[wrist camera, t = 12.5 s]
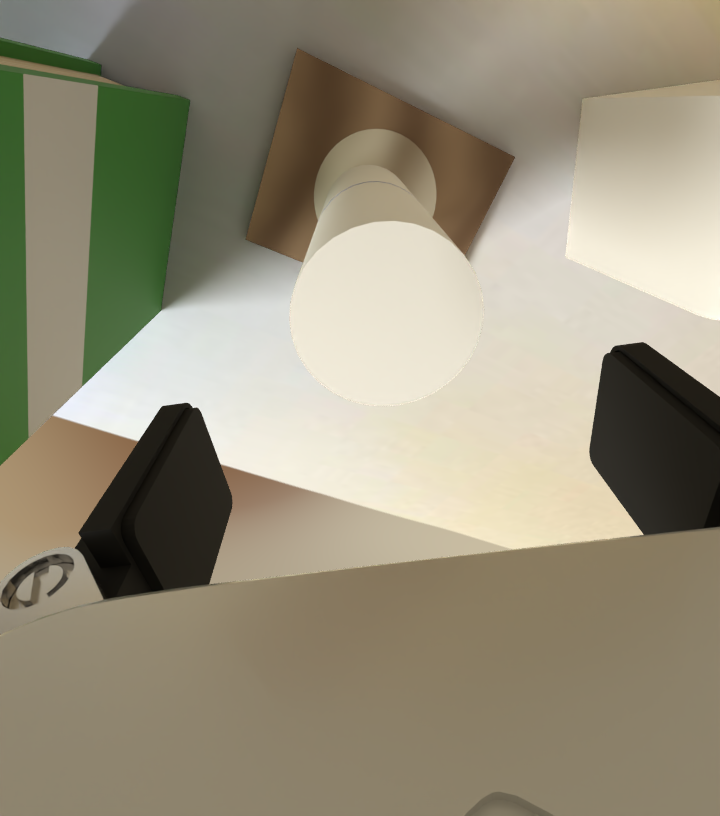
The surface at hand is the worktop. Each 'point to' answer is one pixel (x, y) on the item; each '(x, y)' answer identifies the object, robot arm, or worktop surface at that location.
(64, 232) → the hardback book
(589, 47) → the worktop surface
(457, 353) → the cylindrical container
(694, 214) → the milk
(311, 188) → the walnut board
